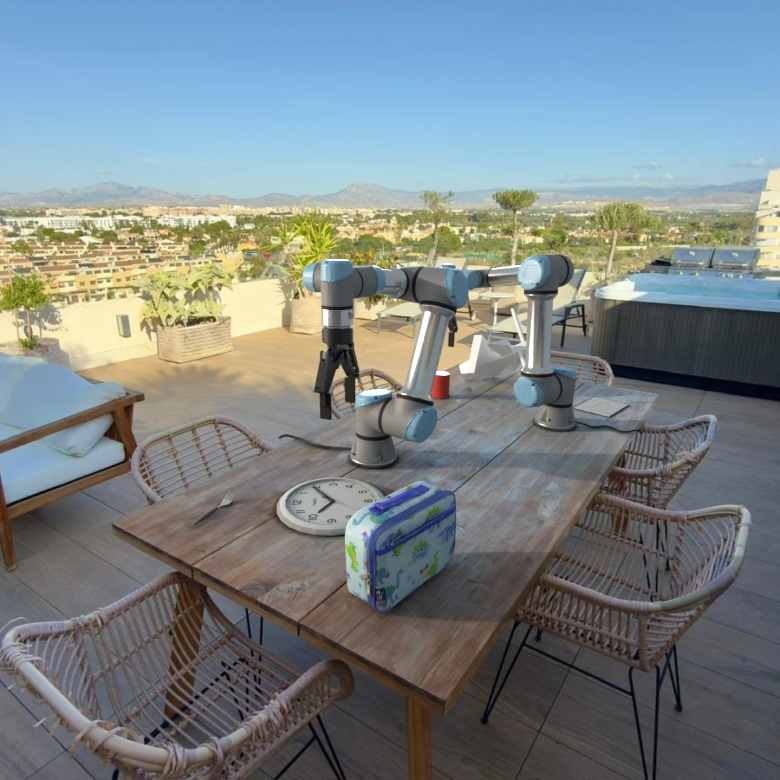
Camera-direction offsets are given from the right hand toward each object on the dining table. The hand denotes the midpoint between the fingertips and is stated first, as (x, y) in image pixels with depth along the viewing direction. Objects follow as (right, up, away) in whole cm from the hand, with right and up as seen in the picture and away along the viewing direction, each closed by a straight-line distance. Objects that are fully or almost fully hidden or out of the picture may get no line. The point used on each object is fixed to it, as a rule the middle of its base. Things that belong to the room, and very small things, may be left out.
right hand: (442, 349), depth 230 cm
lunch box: (-21, -59, -118) cm, 134 cm away
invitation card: (+68, -25, -4) cm, 73 cm away
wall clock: (-39, -49, -87) cm, 108 cm away
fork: (-70, -50, -92) cm, 126 cm away
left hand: (-36, -23, -99) cm, 108 cm away
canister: (0, -21, +7) cm, 22 cm away
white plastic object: (+29, -16, +23) cm, 41 cm away
